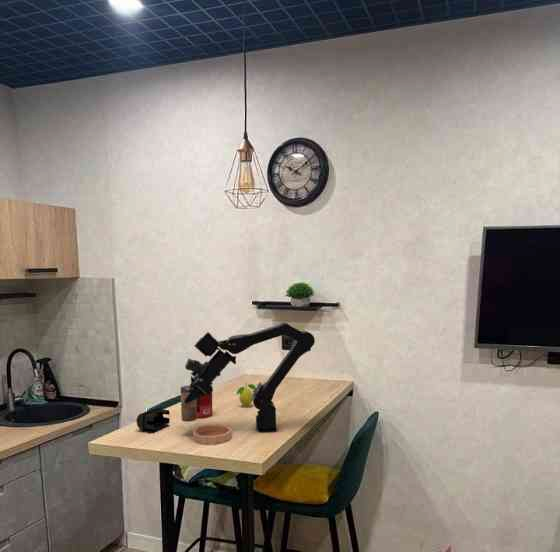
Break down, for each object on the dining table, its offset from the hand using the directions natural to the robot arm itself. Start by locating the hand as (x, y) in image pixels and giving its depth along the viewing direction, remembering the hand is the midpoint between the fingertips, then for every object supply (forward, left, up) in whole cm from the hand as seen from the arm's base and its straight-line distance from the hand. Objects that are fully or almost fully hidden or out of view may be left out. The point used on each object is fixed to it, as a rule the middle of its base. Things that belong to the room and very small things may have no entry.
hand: (184, 400), depth 163 cm
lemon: (-23, -33, -12) cm, 42 cm away
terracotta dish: (-9, +4, -12) cm, 16 cm away
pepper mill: (-1, 0, -7) cm, 7 cm away
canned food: (-5, -23, -12) cm, 26 cm away
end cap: (+12, -10, -12) cm, 19 cm away
